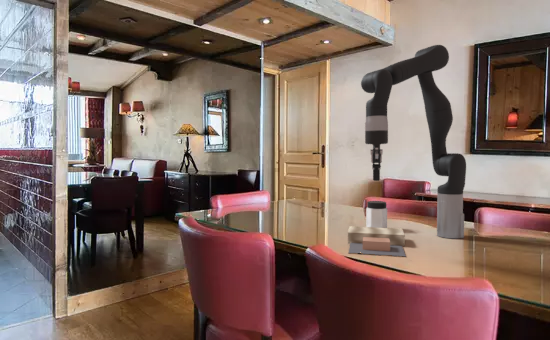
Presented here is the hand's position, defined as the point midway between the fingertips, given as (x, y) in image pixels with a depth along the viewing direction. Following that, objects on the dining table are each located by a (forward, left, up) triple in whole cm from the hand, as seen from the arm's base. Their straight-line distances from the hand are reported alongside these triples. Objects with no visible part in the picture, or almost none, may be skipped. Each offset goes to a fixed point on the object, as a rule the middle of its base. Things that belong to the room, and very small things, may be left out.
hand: (376, 180), depth 123 cm
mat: (0, 0, -24) cm, 24 cm away
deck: (0, -13, -24) cm, 27 cm away
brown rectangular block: (0, -1, -21) cm, 21 cm away
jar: (-1, -37, -24) cm, 44 cm away
